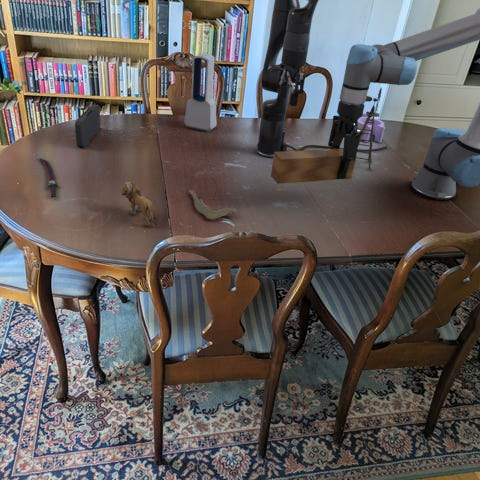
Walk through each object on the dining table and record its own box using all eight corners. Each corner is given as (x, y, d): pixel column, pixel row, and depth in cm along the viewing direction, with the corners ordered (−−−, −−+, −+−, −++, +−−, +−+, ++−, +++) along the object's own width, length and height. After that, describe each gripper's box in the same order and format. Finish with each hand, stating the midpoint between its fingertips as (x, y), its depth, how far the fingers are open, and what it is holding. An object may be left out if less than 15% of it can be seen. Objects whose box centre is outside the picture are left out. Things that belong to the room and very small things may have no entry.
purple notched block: (343, 126, 223) (346, 112, 219) (367, 127, 225) (371, 113, 221) (360, 142, 206) (364, 127, 202) (386, 142, 209) (390, 127, 205)
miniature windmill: (370, 170, 181) (390, 92, 164) (348, 166, 182) (366, 88, 166) (369, 161, 188) (389, 86, 172) (348, 157, 189) (366, 82, 173)
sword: (61, 197, 141) (61, 193, 140) (50, 198, 139) (50, 194, 139) (49, 160, 164) (48, 156, 163) (39, 160, 163) (39, 157, 162)
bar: (277, 183, 140) (281, 159, 136) (270, 176, 145) (274, 151, 140) (351, 178, 148) (356, 155, 144) (342, 171, 153) (348, 148, 148)
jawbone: (218, 227, 136) (218, 221, 134) (170, 202, 146) (169, 197, 145) (238, 214, 141) (238, 209, 140) (190, 191, 152) (190, 186, 151)
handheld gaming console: (94, 127, 192) (92, 103, 187) (101, 127, 192) (99, 103, 187) (76, 147, 173) (73, 121, 167) (83, 148, 173) (80, 122, 167)
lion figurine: (118, 210, 138) (116, 182, 133) (132, 204, 141) (131, 177, 137) (151, 229, 130) (150, 201, 126) (165, 223, 134) (165, 195, 129)
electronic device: (216, 128, 205) (221, 56, 188) (210, 133, 198) (214, 59, 182) (190, 122, 207) (193, 51, 191) (183, 127, 201) (185, 54, 185)
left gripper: (317, 53, 136) (307, 108, 144) (297, 43, 147) (289, 95, 156) (294, 52, 133) (285, 108, 142) (275, 42, 144) (268, 95, 153)
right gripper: (380, 112, 130) (361, 186, 143) (347, 92, 145) (332, 161, 157) (357, 112, 128) (340, 188, 140) (326, 92, 142) (312, 163, 155)
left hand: (287, 101), depth 149 cm, fingers open, 8 cm apart
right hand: (336, 174), depth 149 cm, fingers closed on bar, 5 cm apart
